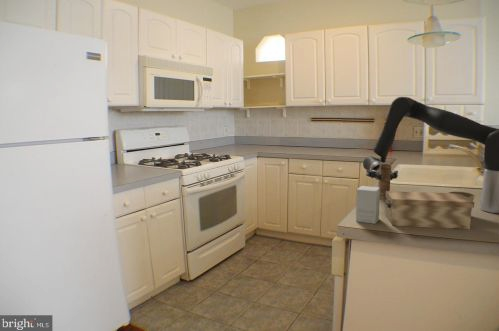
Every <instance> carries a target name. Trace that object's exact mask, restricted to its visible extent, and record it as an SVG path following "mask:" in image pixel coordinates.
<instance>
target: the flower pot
mask: <svg viewBox="0 0 499 331" xmlns="http://www.w3.org/2000/svg"><path fill="white" fill-rule="evenodd" d="M447 193H458V194H462V195H463V196H465V197H467V198H468V199H470V200H472V201H473V202H474V201H475V200H474V199H475V198H476V194H474V193H471V192H467V191H466V192H465V191H458V190H457V191H448V192H447Z"/></svg>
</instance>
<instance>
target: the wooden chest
mask: <svg viewBox="0 0 499 331" xmlns="http://www.w3.org/2000/svg"><path fill="white" fill-rule="evenodd" d="M385 198H386V199H385V203H384V205H385V207H386V212H385V216H387V217H386V218H387V219H388V222H389V224H390V225H391V224H392V225H391V226H393V225H396V226H397V227H413V228H414V227H417V228H418V227H419V228H433V229H434V228H435V229H438V228H439V229H453V228H459V230H471V220H472V219H471V218H472V212H473V211H472V210H473V208H475V201H474V200H473V201H472V200H470V199H468V198H467V197H465V196H463V195H462V194H458V193H448V192H425V191H423V192H422V191H397V190H396V191H395V190H394V191H393V190H391V191H386V197H385ZM396 226H395V227H396Z"/></svg>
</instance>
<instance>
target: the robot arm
mask: <svg viewBox="0 0 499 331" xmlns="http://www.w3.org/2000/svg"><path fill="white" fill-rule="evenodd" d="M404 117H405V118H410V119H414V120H417V121H420V122H422V123H425V124H426V125H427V126H429V127H431V128H432V129H435V130H436V131H439V132H440V133H444V134H446V135H450V136H453V137H457V138H461V139H467V140H470V141H474V142H477V143H479V144H482V145H484V150H483V151H484V152H483V154H484V155H483V164H484V167H483V178H482V179H483V180H482V188H481V197H480V198H481V200H480V211H484V212H487V213H492V214H499V128H497V127H492V126H488V125H485V124H482V123H480V122H477V121H475V120H472V119H471V118H468V117H466V116H463V115H461V114H458V113H455V112H451V111H449V110H445V109H442V108H438V107H433V106H429V105H427V104H423V103H421V102H419V101H417V100H415V99H413V98H411V97H407V96H399V97H396V98H395V99H393V101H392V102H391V104H390V107H389V110H388V114H387V117H386V121H385V122H384V126H383V128H382V131H381V133H380V135H379V137H378V140H377V141H376V143H375V145H374V147H373V153H374V154H376V155H377V156H379V157H380V158H377V157H374V156H372V155H369V156H366V157H365V158H364V160H363V162H362V166H363V169H365V171H366V172H365V173H366V174H365V176H367V177H369V178H371V179H376V180H378V181H379V180H381V174H380V173H379V166H380V163H387V157H388V156H389V155H388V154H389V152H390V150H391V148H392V145H394V141H395V138H396V134H397V130H398V127H399V125H400V123H401V122H402V120H403V119H404ZM398 177H399V170H394V171H392V170H391V175H390V181H393V180H394V179H395V180H396V179H398Z"/></svg>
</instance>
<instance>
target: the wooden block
mask: <svg viewBox="0 0 499 331" xmlns="http://www.w3.org/2000/svg"><path fill="white" fill-rule="evenodd" d="M391 171H392V163H391V162H385V163H380V166H379V173H380V174H381V180H378V185H377V187H379V188H380V198H387V197H386V191H390V190H391V180H390V175H391Z"/></svg>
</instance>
